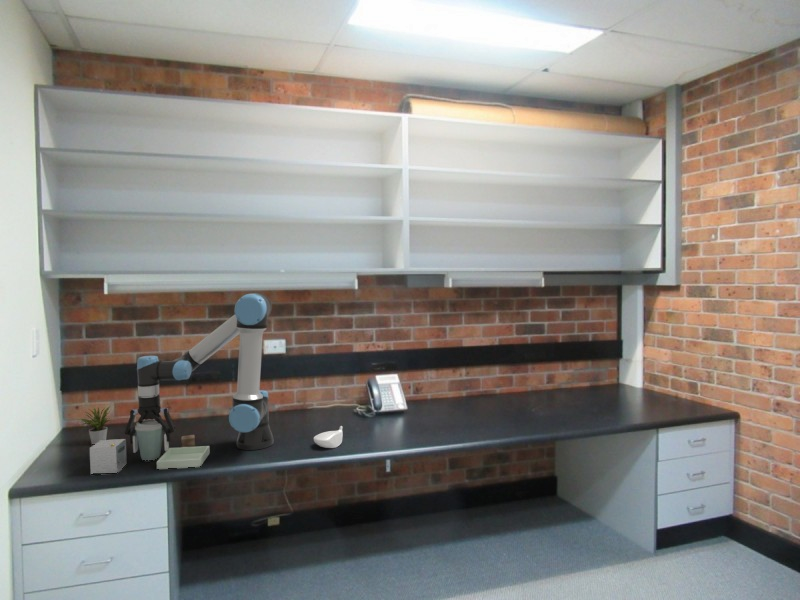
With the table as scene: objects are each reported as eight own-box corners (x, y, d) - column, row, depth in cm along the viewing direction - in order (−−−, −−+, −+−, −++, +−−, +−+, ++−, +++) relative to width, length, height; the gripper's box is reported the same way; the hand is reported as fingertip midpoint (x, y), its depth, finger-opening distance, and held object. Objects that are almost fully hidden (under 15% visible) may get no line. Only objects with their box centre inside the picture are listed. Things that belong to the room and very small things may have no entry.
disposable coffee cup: (159, 452, 212) (158, 415, 211) (170, 458, 204) (169, 420, 204) (131, 458, 204) (130, 421, 203) (141, 465, 197) (140, 426, 196)
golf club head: (349, 425, 218) (324, 418, 213) (344, 451, 214) (318, 444, 209) (338, 427, 227) (313, 420, 222) (333, 452, 222) (308, 446, 217)
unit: (127, 464, 198) (126, 437, 197) (117, 473, 189) (116, 445, 188) (100, 466, 197) (99, 439, 196) (89, 475, 188) (88, 446, 187)
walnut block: (194, 446, 219) (194, 434, 219) (195, 449, 214) (194, 438, 214) (181, 447, 217) (181, 436, 217) (181, 451, 212) (181, 439, 212)
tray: (209, 453, 210) (209, 445, 209) (200, 467, 194) (199, 459, 194) (169, 455, 208) (169, 448, 208) (156, 469, 192) (156, 461, 192)
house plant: (98, 436, 233) (96, 400, 233) (125, 437, 231) (124, 401, 230) (72, 446, 219) (71, 408, 219) (101, 448, 217) (99, 410, 216)
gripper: (182, 392, 208) (184, 445, 209) (121, 394, 205) (123, 449, 206) (177, 396, 201) (179, 452, 202) (113, 399, 198) (115, 455, 199)
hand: (151, 450), depth 204 cm, fingers open, 11 cm apart
